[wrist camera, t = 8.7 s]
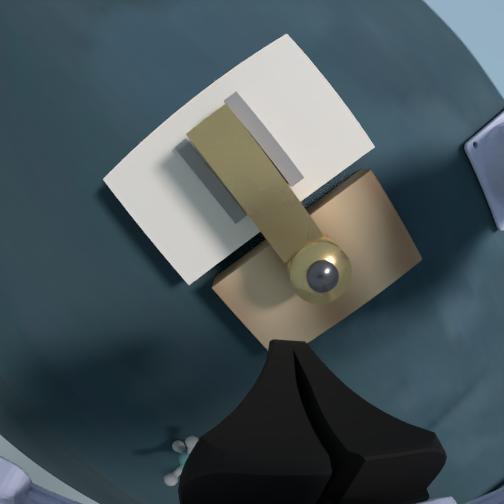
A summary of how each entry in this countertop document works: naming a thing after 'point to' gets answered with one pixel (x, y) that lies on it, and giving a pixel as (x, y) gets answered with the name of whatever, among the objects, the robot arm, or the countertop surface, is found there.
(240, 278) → the strip
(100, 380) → the countertop surface
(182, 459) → the molecular model
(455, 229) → the countertop surface
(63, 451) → the countertop surface
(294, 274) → the lock arm
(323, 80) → the door panel
